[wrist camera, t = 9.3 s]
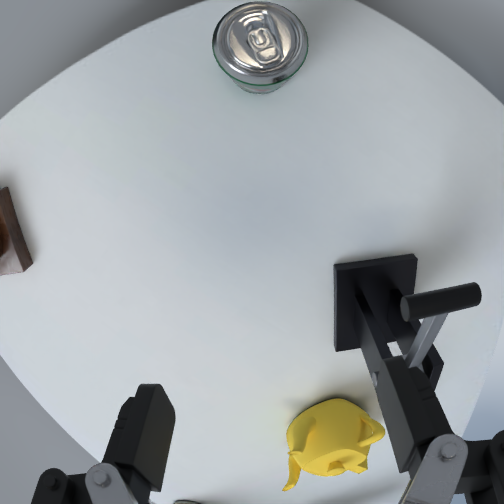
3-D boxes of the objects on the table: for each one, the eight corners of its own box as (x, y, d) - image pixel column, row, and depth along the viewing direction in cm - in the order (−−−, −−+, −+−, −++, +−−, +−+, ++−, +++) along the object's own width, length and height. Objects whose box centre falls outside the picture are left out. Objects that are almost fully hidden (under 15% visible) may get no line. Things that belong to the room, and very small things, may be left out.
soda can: (274, 31, 23) (285, -18, 12) (299, 81, 25) (328, 64, 14) (220, 54, 24) (192, 19, 13) (244, 103, 26) (235, 100, 15)
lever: (400, 285, 18) (413, 317, 16) (472, 272, 17) (487, 300, 16) (371, 374, 26) (376, 397, 24) (425, 362, 26) (432, 384, 24)
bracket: (333, 264, 32) (368, 351, 20) (413, 253, 31) (474, 326, 20) (334, 345, 37) (355, 433, 25) (403, 333, 36) (441, 411, 24)
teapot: (284, 394, 40) (287, 455, 32) (378, 386, 40) (396, 442, 31) (280, 443, 46) (282, 494, 37) (358, 436, 46) (369, 484, 37)
